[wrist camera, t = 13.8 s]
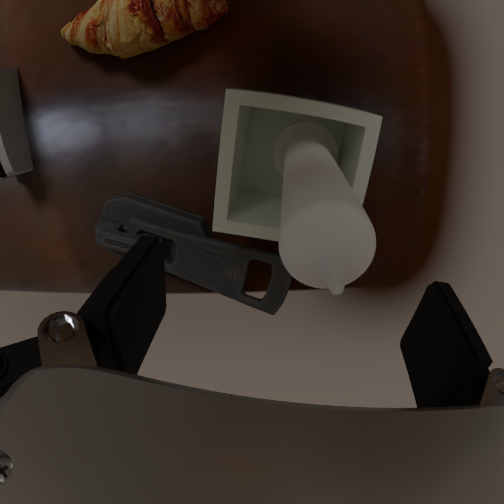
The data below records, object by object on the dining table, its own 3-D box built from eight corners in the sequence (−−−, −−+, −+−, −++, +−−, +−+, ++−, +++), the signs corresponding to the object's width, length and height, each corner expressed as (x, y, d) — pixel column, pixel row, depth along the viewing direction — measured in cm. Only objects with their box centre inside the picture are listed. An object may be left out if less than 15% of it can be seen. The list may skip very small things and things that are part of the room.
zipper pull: (278, 321, 37) (85, 270, 37) (280, 289, 43) (108, 246, 43) (300, 257, 33) (81, 206, 33) (298, 230, 39) (108, 187, 39)
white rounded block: (-3, 77, 31) (-36, 76, 22) (21, 66, 32) (-10, 61, 23) (14, 175, 39) (-16, 194, 30) (38, 167, 40) (10, 184, 31)
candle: (345, 174, 34) (430, 333, 12) (284, 192, 36) (274, 371, 14) (326, 113, 31) (415, 173, 9) (263, 132, 33) (208, 233, 11)
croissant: (85, 55, 33) (52, 83, 29) (68, -6, 25) (29, 15, 20) (237, 36, 31) (223, 61, 27) (232, -40, 23) (215, -34, 18)
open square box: (243, 88, 31) (225, 88, 23) (357, 108, 31) (382, 116, 22) (230, 194, 37) (212, 230, 29) (335, 212, 37) (349, 253, 28)
